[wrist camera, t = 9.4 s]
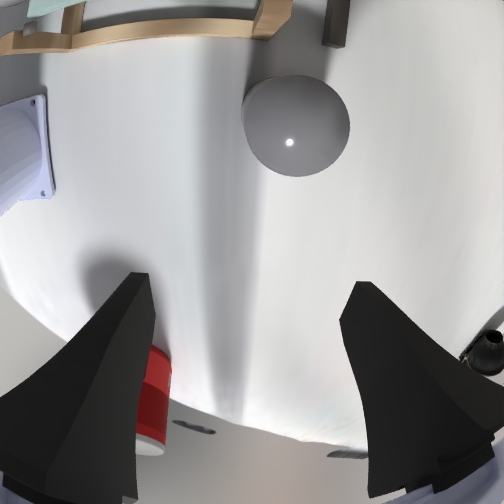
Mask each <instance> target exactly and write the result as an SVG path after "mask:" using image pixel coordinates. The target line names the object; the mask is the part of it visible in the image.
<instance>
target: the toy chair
mask: <svg viewBox="0 0 504 504" xmlns="http://www.w3.org/2000/svg"><path fill="white" fill-rule="evenodd" d="M292 4H293V0H262V1H261V3H260V6H259V8H258V11H257V13H256V16H255V18H254V21H249V20H237V19H218V18H183V19H164V20H152V21H143V22H135V23H128V24H121V25H116V26H110V27H105V28H100V29H95V30H91V31H87V32H83V33H80V32H81V24H82V17H83V11H84V5H85V1H84V2H80V3H77V4H74V5H70V6H67V7H65V8H64V13H63V20H62V27H61V34H60V33H50V32H37V31H36V27H37V22H29V23H26V24H25V25H24V29H23V31H12V32H10V33H8V34H6V35H5V36H3V37H1V40H0V56H2V55H12V54H25V53H68V52H71V51H75V50H80V49H84V48H88V47H93V46H98V45H103V44H109V43H115V42H122V41H129V40H137V39H146V38H158V37H176V36H218V37H236V38H248V39H258V40H266V41H268V40H269V39H270V38H271V37H272V36H273V35H274V33H275V32H276V31H277V30H278V29H279V28H280V27H281V26H282V25H283V24H284V23H285V22H286V21H287V20H288V19H289V18H290V17H291V11H292ZM349 8H350V0H328V2H327V11H326V19H325V27H324V34H323V42H322V45H325V46H329V47H333V48H337V49H338V48H343V47H345V42H346V34H347V26H348V17H349Z"/></svg>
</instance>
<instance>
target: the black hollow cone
mask: <svg viewBox="0 0 504 504" xmlns="http://www.w3.org/2000/svg"><path fill="white" fill-rule="evenodd" d="M460 361H461V362H462V363H464V364H465V365H466V366H468V367H469V368H471V369H472V370H474V371H476V372H477V373H479V374H481V375H482V376H486V377H489V376H495V375H497V374H499V373H500V372H501V371H502V370H503V369H504V342H503V336H502V333H501V332H499V331H497V330H488V331H486V332H485V335H484V336H483V337H481V338H479V340H478V341H477V342H476V343H475V344H474V346H473V348H472V349H471V350H470V351H469V352H468V353H466V354H464V355H463V356H462V358H461V359H460Z"/></svg>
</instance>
